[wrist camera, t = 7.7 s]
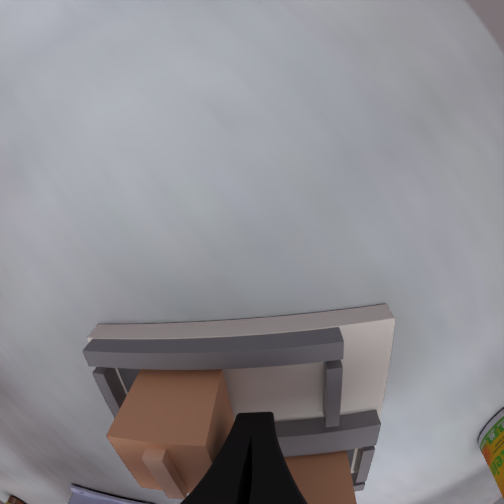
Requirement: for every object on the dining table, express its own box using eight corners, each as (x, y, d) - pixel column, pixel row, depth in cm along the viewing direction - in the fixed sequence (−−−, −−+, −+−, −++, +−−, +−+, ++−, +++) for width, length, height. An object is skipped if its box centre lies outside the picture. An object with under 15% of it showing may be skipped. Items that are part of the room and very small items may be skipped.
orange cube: (280, 483, 15) (280, 547, 11) (276, 452, 14) (275, 527, 9) (340, 477, 14) (349, 540, 10) (345, 445, 13) (358, 518, 9)
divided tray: (165, 469, 17) (158, 494, 15) (98, 324, 14) (76, 349, 12) (362, 463, 16) (367, 489, 14) (386, 303, 13) (404, 331, 10)
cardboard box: (163, 422, 13) (138, 496, 9) (141, 367, 12) (101, 446, 8) (235, 424, 13) (224, 506, 9) (222, 367, 12) (202, 458, 8)
